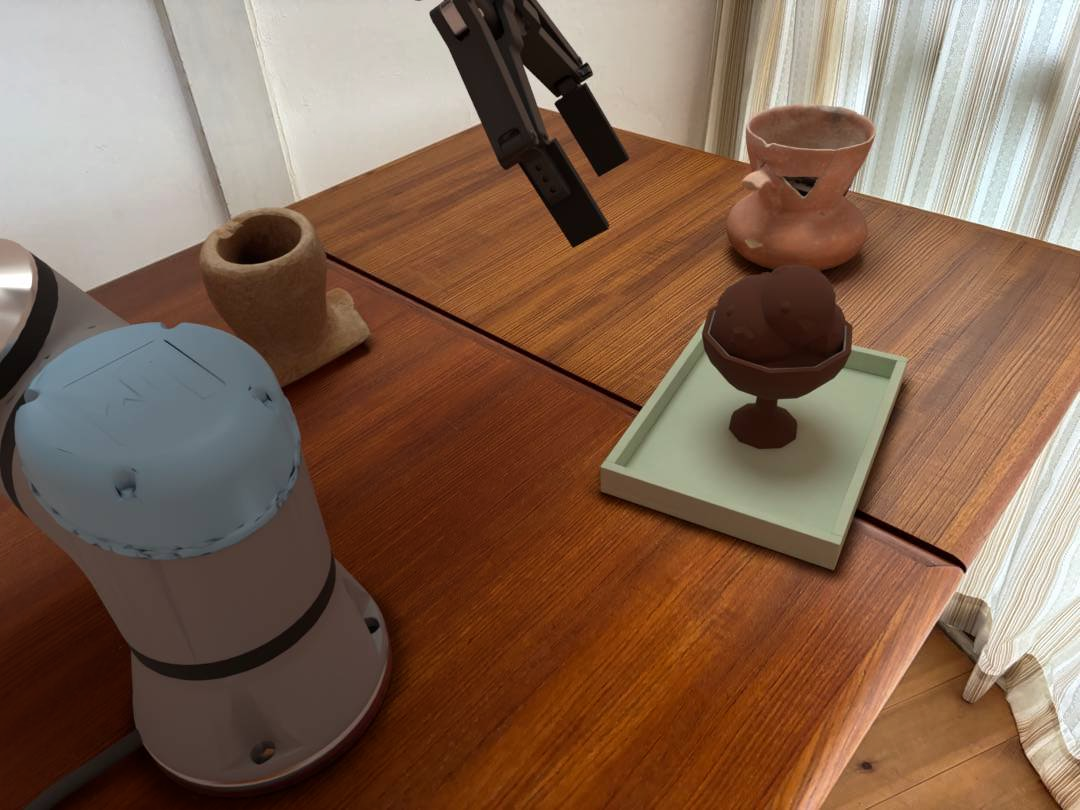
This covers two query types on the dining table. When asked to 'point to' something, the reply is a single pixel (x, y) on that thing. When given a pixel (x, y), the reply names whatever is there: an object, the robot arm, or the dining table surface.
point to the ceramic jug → (802, 187)
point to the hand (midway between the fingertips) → (603, 199)
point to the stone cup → (279, 291)
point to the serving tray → (758, 455)
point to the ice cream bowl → (776, 346)
